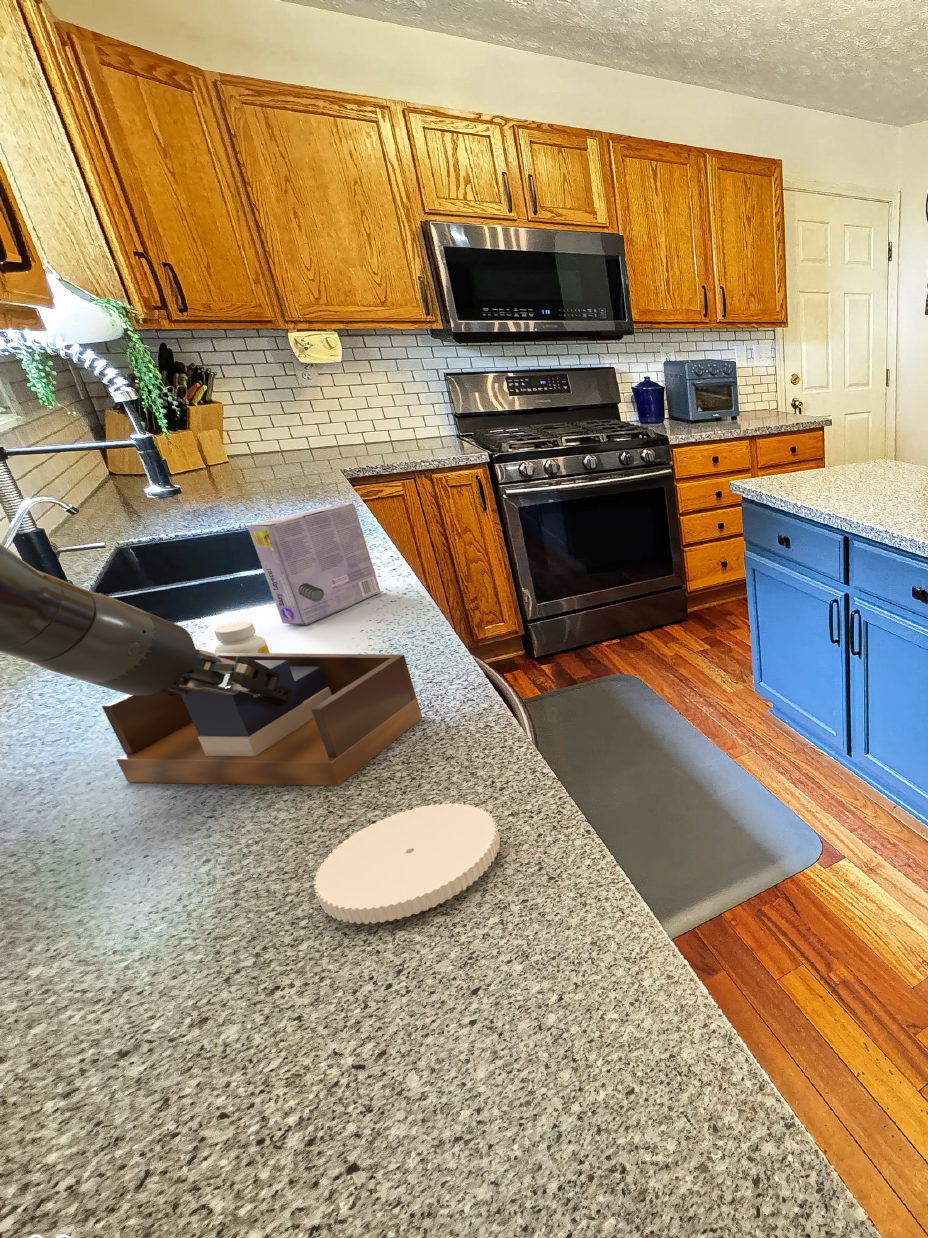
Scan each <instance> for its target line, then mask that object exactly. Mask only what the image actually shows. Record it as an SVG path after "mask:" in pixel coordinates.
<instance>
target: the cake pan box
mask: <svg viewBox="0 0 928 1238" xmlns="http://www.w3.org/2000/svg"><path fill="white" fill-rule="evenodd" d="M247 530H248V532H249V535H250V537H251V540H252V543H253V545H254V549H255V551H256V554H257V556H258V559H259V562H260V565H261V568H262V570H263V573H264V576H265V578H266V581H267V584H268V586H269V589H270V592H271V595H272V597H273V600H274V602H275V605H276V606H275V607H276V609H277V611H278V614H279V617H280V619H281V622H282V624H286V625H298V626H307V625H309V624H312V623H314V622H317V621H318V620H321V619H323V618H325V617H328V616H331V615H332V614H334V613H338V612H341V611H343V610H345V609H347V608H350V607H352V606H355V604H357V603H359V602H362V601H364V600H366V599H368V598H372V597H373V596H375V595H378V594H380V593H381V589H380V585H379V582H378V578H377V574H376V571H375V568H374V565H373V561H372V558H371V556H370V553H369V548H368V545H367V542H366V538H365V535H364V532H363V529H362V524H361V522H360V518H359V515H358V511H357V508H356V504H354V502H352V503H350V502H349V503H338V504H331V505H326V506H322V507H318V508H315V509H314V508H313V509H310V510H306V511H301V512H297V513H293V514H292V513H291V514H287V515H284V516H280V517H276V518H272V519H268V520H263V521H259V522H255V523H251V524H247Z"/></svg>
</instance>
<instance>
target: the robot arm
mask: <svg viewBox="0 0 928 1238" xmlns="http://www.w3.org/2000/svg"><path fill="white" fill-rule="evenodd" d="M0 654H3V655H7V656H10V657H13V658H16V659H20V660H23V661H26V662H29V663H31V664H32V663H33V664H34V665H36V666H39V667H41V668H43V669H45V670H48V671H50V672H53V673H56V674H60V675H63V676H66V677H69V678H72V679H76V680H79V681H83V682H85V683H90V684H93V685H96V686H99V687H103V688H106V689H109V690H113V691H116V692H118V693H123V694H125V695H127V694H129V695H136V696H141V695H149V694H153V693H156V692H160V693H164V694H167V695H169V696H173V695H178V694H179V695H187V692H186V690H187V689H189V690H194V691H195V690H204V691H209V692H213V693H217V694H221V695H234V694H237V693H241V694H244V695H247V696H251V697H252V698H258V699H261V700H264V701H267V702H269V703H272V704H275V705H278V706H286V705H287V704H288V702H289V699H290V696H291V693H292V689H291V688H290V687H288V686H286V685H283V684H280V683H278V680H279V678H280V675H281V674H279V673H277V672H275V671H274V670H272V669H270V668H268V667H266V666H264V665H262V664H260V663H258V662H256V661H254V660H252V659H250V658H248V657H246V656H237V657H236V660H235V661H232V660H228V659H224V658H220V657H218V656H216V653H214V652H211V651H207V650H204V649H198V648H196V646H195V644H194V640H193V637H192V635H191V634H190V633H189V631H188V630H187V629H186V628H185V627H182V626H181V625H179V624H177V623H174V622H173V621H170V620H167V619H164V618H163V617H160V616H157V615H155V614H153V613H150V612H148V611H145V610H144V609H141V608H138V607H136V606H133V605H131V604H128V603H126V602H123V601H122V600H119V599H117V598H113V597H111V596H109V595H106V594H102V593H98V592H94V591H90V590H88V589H85V588H83V587H80V586H78V585H75V584H73V583H70V582H69V581H66V580H64V579H61V578H58V577H56V576H54V575H51V574H48V573H46V572H44V571H40V570H37V569H36V568H34V567H33V566H31V565H30V564H29V563H27V562H26V561H25V560H23V559H22V558H20V556H19V555H17V554H16V553H15V552H13V551H12V550H10V549H9V548H8V547H6V546H5V545H3V544H1V543H0ZM225 675H229V679H228V682H227V684H226V687H220V686H219V685H221V684H222V683H223V680H224V678H225ZM242 686H243V687H245V688H243V687H242Z"/></svg>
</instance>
